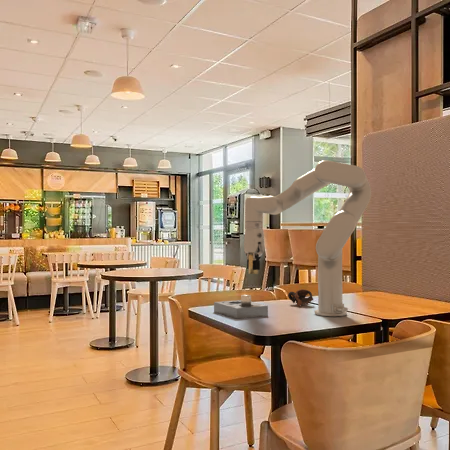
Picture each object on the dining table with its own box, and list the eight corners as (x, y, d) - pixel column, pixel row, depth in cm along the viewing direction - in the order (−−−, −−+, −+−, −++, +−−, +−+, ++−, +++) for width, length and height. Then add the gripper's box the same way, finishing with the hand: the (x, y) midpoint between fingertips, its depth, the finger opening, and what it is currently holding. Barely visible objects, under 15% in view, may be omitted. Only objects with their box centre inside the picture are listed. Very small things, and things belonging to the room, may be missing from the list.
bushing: (259, 273, 198) (259, 254, 198) (251, 274, 196) (251, 254, 197) (255, 273, 202) (255, 254, 202) (246, 273, 200) (247, 254, 200)
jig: (267, 315, 187) (267, 295, 187) (236, 318, 180) (236, 297, 180) (243, 309, 204) (242, 290, 205) (214, 311, 198) (213, 292, 198)
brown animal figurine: (314, 305, 218) (316, 291, 214) (307, 317, 211) (309, 302, 207) (290, 297, 223) (291, 283, 219) (282, 308, 216) (284, 294, 212)
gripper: (271, 226, 194) (271, 270, 193) (251, 226, 209) (251, 267, 208) (255, 225, 190) (255, 271, 190) (236, 226, 205) (236, 268, 205)
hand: (253, 268), depth 199 cm, fingers closed on bushing, 4 cm apart
